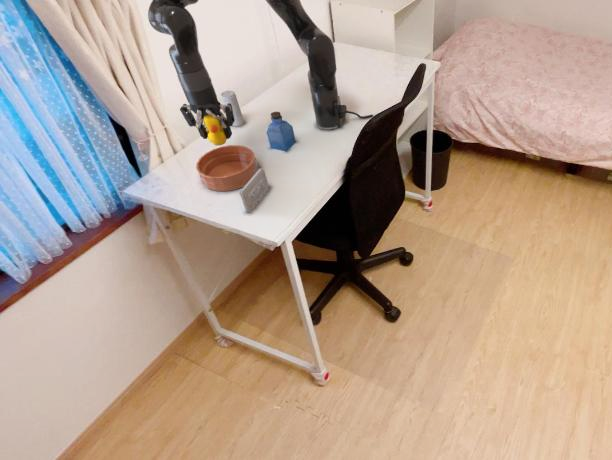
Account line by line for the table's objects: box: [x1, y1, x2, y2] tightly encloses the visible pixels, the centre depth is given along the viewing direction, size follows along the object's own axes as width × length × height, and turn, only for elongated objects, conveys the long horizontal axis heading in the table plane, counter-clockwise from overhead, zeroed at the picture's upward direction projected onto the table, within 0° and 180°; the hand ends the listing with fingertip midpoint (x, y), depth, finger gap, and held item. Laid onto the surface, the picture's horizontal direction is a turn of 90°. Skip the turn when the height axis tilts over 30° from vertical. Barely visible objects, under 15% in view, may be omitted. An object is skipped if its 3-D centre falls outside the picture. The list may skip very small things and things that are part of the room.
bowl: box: [195, 144, 260, 192], centre depth 136 cm, size 17×17×6 cm
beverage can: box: [220, 90, 245, 128], centre depth 155 cm, size 5×5×12 cm
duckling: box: [203, 115, 228, 147], centre depth 126 cm, size 11×5×10 cm, turn 25°
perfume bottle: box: [265, 111, 297, 152], centre depth 146 cm, size 6×6×12 cm
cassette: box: [239, 167, 270, 213], centre depth 126 cm, size 12×2×8 cm, turn 166°
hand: (217, 137), depth 128 cm, fingers closed on duckling, 6 cm apart
